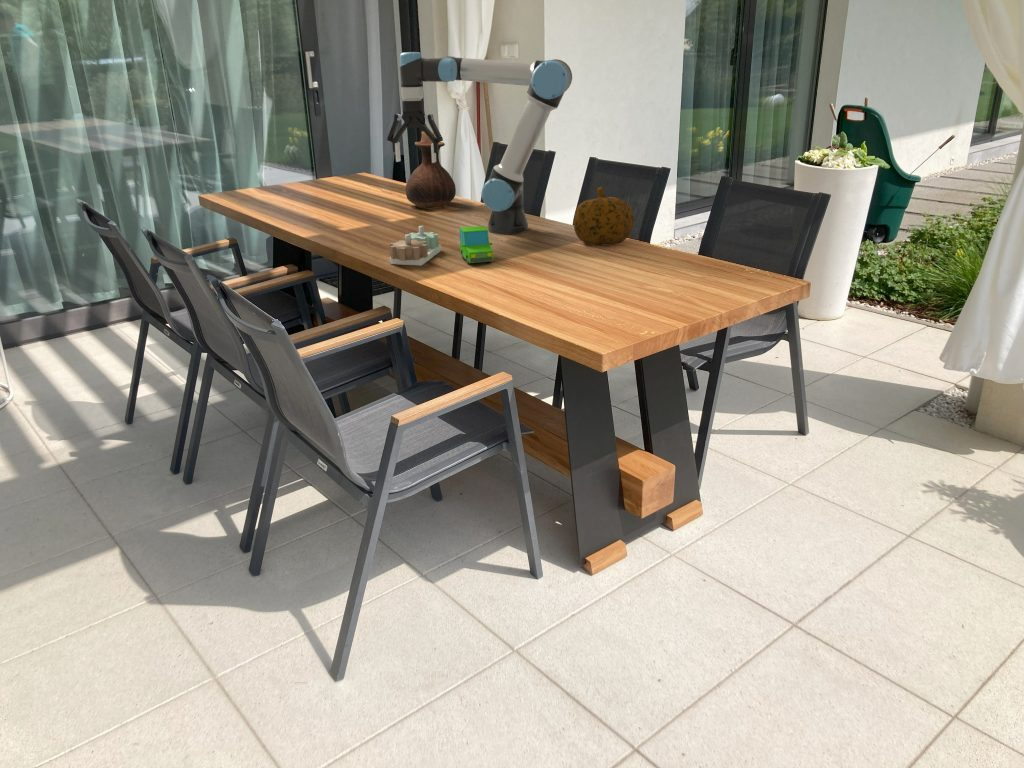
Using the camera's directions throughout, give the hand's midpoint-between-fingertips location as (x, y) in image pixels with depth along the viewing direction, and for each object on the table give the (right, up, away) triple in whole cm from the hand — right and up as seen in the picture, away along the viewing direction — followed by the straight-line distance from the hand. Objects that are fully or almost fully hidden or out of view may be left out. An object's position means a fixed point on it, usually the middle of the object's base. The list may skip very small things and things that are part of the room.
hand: (416, 161), depth 300 cm
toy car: (+23, -39, -24) cm, 51 cm away
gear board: (+2, -38, -20) cm, 43 cm away
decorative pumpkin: (+67, -30, -3) cm, 73 cm away
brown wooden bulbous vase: (0, -3, +62) cm, 62 cm away
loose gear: (+4, -33, -14) cm, 36 cm away
